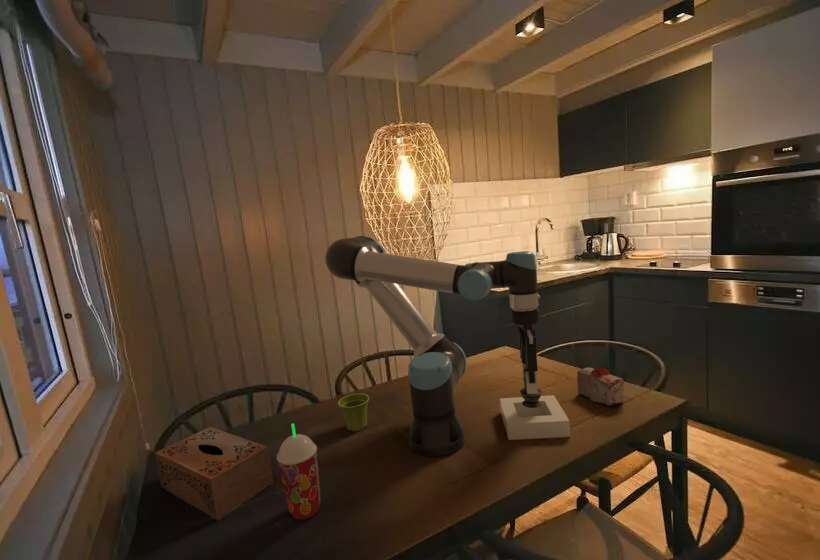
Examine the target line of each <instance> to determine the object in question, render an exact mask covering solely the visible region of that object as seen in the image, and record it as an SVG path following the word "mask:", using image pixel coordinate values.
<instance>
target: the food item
mask: <svg viewBox="0 0 820 560" xmlns="http://www.w3.org/2000/svg"><path fill="white" fill-rule="evenodd" d="M576 375H577V376H576V377H577V393H578V394H579V395H582V396H584V397H587V398H589V400H590V401H591V402H594V403H598V404H603V405H605V404H606V405H605V406H608V407H610V405H611V406H614V405H613V404H616V405H618V404H617V403H619V404H623V403H624V400H623V399H624V390H625V389H624V382H625V381H624V378H622V377H619V376H615V375H613V374H610V371H609V370H607V369H606V368H605V367H604V368H603V367H601V368H600V367H597V368H593V367H584V368H581V369H579V370H577V372H576ZM622 402H623V403H622Z"/></svg>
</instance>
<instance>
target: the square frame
mask: <svg viewBox="0 0 820 560" xmlns="http://www.w3.org/2000/svg"><path fill="white" fill-rule="evenodd" d="M523 401H524V399H523V397H522V396H521V397H519V396H518V397H517V396H516V397H505V398H504V397H503V398H499V406H500V414H501V419H502V422H503V425H504V429H505V433H506V437H507V440H509V441H512V440H515V441H517V440H534V439H538V440H539V439H551V438H552V439H553V438H554V439H555V438H556V439H557V438H571V425H570V419H569V417H568V416H567V414H566V413H565V411H564V409H563V408H562V406H561V405H560V402H559V401H558V400H557V398H556V396H555V395H541V396H540V399H539V401H540V402H541V403H542V404H541V406H539V407H536V408H528V407H525V406H523V405H522V402H523Z"/></svg>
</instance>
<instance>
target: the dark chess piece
mask: <svg viewBox="0 0 820 560" xmlns="http://www.w3.org/2000/svg"><path fill="white" fill-rule="evenodd" d="M524 369H526V366H525V367H524ZM524 375H525V377H524V378H523V377H522V380H523V379H524V380H525V387H524V386H523V388H521V389H520V390H519V394H521V397H523V399H524V401H523V402H522V405H523V406H525V407H528V408H536V407H539V406H541V404H542V403H541V402H540V401H539V399H540V396H542V393H543V391H542V389H540V388H538V387H537V391H538V394H527V385H526V372H524Z"/></svg>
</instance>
